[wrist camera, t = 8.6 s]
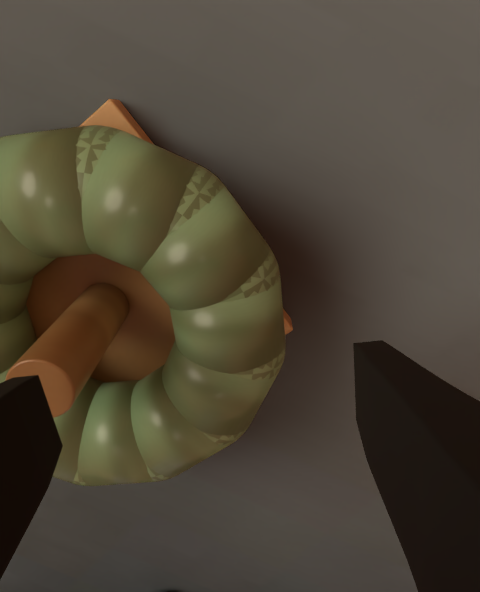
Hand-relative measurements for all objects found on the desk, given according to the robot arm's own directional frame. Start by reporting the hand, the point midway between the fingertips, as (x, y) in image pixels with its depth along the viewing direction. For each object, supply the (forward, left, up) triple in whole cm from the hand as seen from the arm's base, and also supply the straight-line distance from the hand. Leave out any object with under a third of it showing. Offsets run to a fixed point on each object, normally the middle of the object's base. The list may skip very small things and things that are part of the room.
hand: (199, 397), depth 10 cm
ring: (-3, +2, -5) cm, 6 cm away
